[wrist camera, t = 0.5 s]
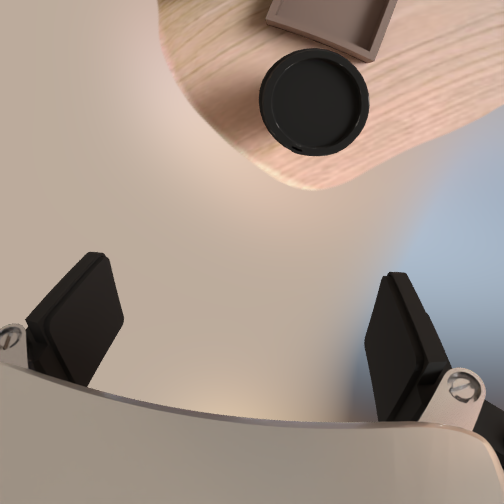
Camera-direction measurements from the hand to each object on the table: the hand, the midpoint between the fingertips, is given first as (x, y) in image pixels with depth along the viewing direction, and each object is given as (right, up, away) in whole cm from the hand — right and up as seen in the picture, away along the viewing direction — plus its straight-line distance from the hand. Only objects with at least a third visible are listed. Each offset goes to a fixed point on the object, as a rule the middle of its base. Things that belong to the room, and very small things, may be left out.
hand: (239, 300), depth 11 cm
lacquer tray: (+10, +30, +16) cm, 36 cm away
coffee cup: (+6, +19, +22) cm, 30 cm away
